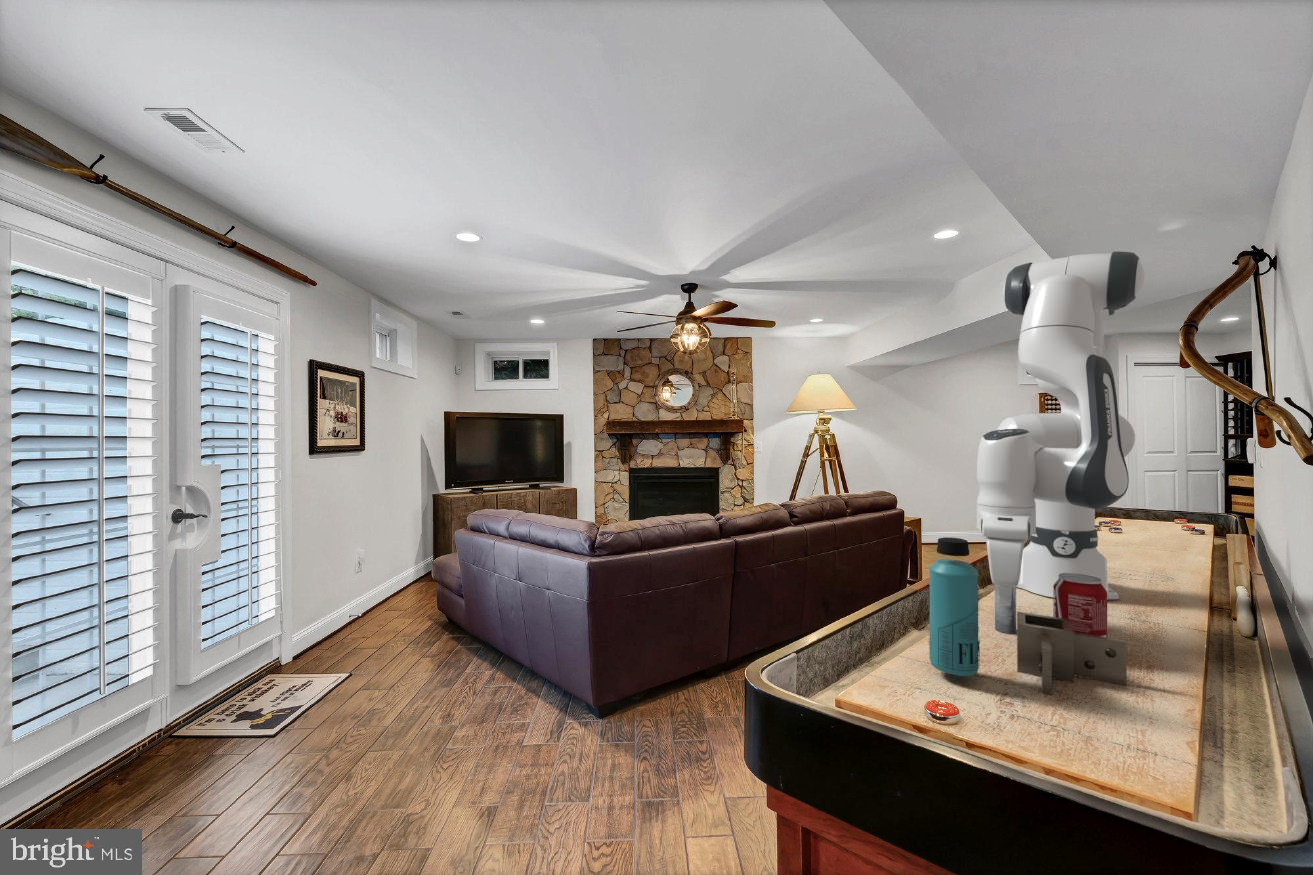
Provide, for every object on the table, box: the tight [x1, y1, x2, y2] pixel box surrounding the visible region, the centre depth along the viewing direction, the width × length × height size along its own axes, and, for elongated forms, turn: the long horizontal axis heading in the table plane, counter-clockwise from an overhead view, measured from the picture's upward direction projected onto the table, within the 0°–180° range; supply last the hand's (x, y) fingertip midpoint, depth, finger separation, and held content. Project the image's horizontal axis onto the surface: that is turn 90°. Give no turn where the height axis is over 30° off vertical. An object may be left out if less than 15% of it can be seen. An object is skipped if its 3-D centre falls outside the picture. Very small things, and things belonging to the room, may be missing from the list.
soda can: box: [1052, 573, 1108, 637], centre depth 86 cm, size 7×7×12 cm
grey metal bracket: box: [1016, 611, 1128, 696], centre depth 76 cm, size 13×13×7 cm
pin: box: [994, 584, 1017, 635], centre depth 96 cm, size 3×3×12 cm
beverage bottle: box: [928, 536, 981, 677], centre depth 78 cm, size 6×7×20 cm
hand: (1005, 598), depth 96 cm, fingers open, 6 cm apart
